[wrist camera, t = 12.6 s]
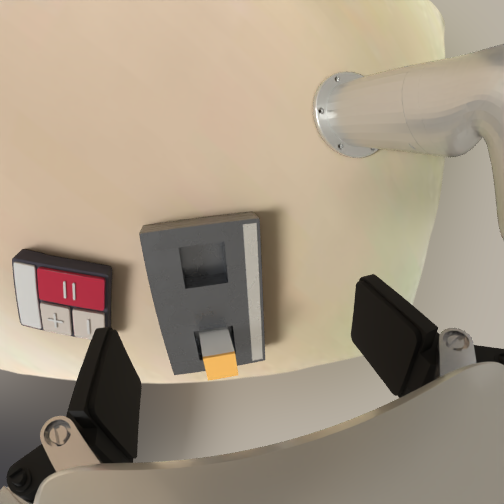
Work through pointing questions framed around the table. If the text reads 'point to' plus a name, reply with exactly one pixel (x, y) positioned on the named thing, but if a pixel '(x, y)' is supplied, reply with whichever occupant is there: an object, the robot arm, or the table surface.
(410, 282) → the table surface
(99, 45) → the table surface
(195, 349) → the port panel
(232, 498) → the robot arm
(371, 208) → the table surface
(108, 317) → the calculator
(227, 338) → the plug
